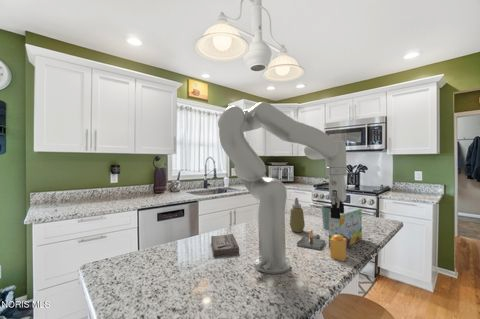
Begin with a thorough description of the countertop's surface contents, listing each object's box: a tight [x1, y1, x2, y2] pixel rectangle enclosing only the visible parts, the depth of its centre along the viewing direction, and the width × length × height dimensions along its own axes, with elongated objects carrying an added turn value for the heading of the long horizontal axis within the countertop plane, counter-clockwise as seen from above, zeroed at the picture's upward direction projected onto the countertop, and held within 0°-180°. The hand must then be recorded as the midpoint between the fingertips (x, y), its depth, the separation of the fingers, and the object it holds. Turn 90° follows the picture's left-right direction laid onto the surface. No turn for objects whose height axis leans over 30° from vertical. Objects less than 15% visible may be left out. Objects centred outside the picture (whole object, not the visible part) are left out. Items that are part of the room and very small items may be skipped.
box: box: [210, 233, 240, 257], centre depth 101 cm, size 11×17×3 cm, turn 11°
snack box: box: [328, 206, 363, 248], centre depth 104 cm, size 21×6×15 cm, turn 129°
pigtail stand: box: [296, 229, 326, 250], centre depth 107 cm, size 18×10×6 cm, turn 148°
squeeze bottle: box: [289, 197, 306, 233], centre depth 124 cm, size 8×8×18 cm
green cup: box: [321, 205, 331, 231], centre depth 128 cm, size 10×10×12 cm
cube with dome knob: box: [329, 234, 347, 262], centre depth 89 cm, size 5×5×8 cm
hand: (337, 215), depth 89 cm, fingers open, 9 cm apart
